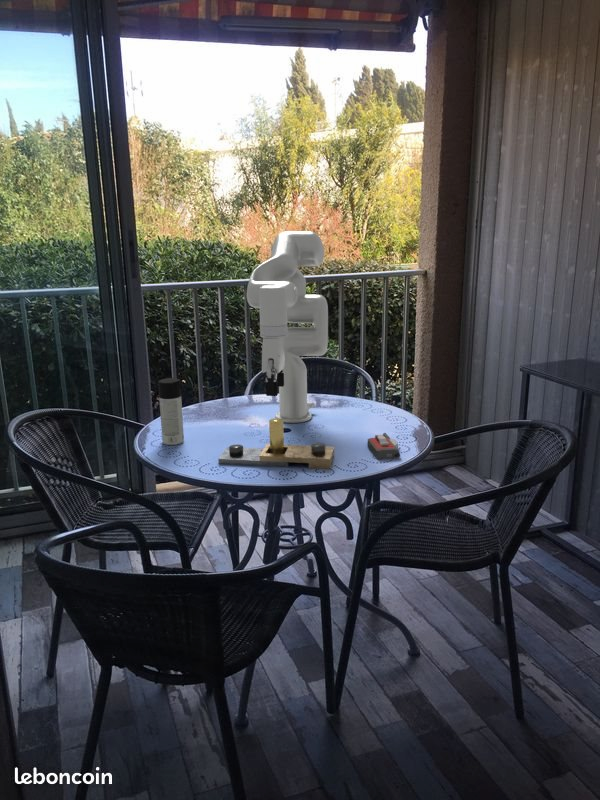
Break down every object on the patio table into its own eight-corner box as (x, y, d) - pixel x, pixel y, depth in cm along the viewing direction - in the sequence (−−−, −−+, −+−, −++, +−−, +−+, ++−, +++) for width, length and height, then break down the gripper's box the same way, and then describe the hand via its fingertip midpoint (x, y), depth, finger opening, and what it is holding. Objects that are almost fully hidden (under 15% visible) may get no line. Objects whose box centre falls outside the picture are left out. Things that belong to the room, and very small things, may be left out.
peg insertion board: (227, 451, 199) (227, 435, 198) (334, 456, 194) (334, 440, 193) (218, 463, 190) (217, 447, 188) (330, 469, 185) (330, 452, 183)
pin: (276, 456, 195) (275, 417, 191) (286, 459, 192) (286, 420, 189) (267, 460, 192) (266, 420, 188) (277, 463, 189) (276, 423, 186)
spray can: (188, 441, 209) (184, 379, 203) (173, 447, 203) (168, 384, 198) (173, 437, 212) (169, 376, 207) (157, 443, 207) (153, 381, 202)
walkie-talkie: (407, 459, 192) (387, 437, 211) (407, 445, 191) (387, 424, 210) (377, 462, 191) (360, 439, 210) (377, 447, 189) (360, 426, 208)
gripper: (266, 325, 191) (268, 382, 196) (253, 336, 175) (255, 399, 180) (292, 325, 190) (293, 383, 195) (281, 337, 174) (282, 400, 178)
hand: (275, 390), depth 187 cm, fingers open, 9 cm apart
